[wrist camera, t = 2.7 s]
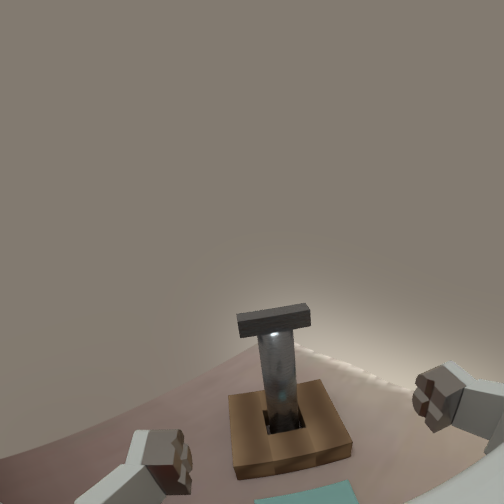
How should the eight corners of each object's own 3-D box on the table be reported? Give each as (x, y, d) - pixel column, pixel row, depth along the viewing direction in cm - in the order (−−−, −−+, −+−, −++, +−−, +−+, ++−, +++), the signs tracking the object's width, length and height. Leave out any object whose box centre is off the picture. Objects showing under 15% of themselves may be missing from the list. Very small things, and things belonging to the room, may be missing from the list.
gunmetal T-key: (259, 448, 31) (238, 325, 27) (256, 429, 34) (236, 310, 30) (315, 437, 31) (312, 313, 27) (308, 419, 35) (302, 299, 31)
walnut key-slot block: (237, 480, 26) (233, 466, 25) (231, 410, 38) (228, 395, 38) (350, 456, 27) (352, 441, 26) (320, 394, 39) (319, 379, 39)
